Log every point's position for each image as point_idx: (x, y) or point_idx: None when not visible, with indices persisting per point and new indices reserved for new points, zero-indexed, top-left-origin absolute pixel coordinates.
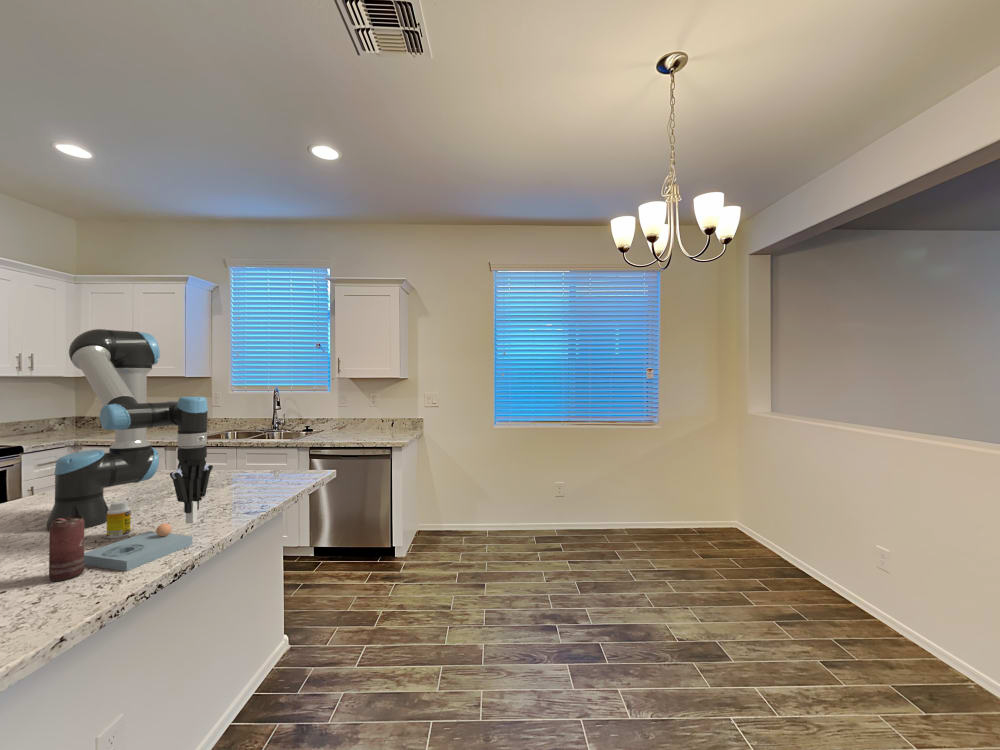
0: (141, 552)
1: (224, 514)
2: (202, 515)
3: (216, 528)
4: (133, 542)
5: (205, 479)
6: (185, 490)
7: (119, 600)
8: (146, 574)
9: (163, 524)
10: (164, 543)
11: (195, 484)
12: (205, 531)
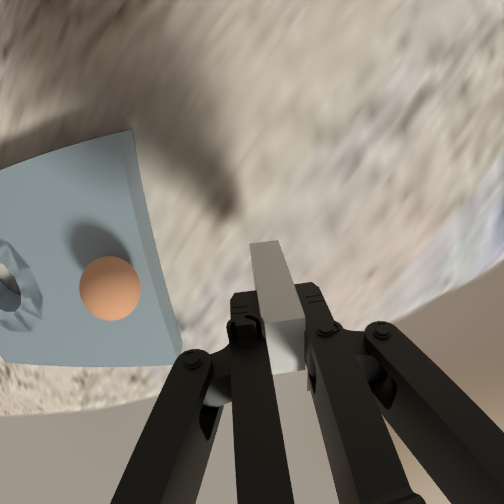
0: (31, 347)
1: (489, 131)
2: (460, 46)
3: (352, 262)
4: (27, 237)
5: (432, 477)
6: (202, 475)
7: (12, 415)
8: (43, 389)
9: (95, 312)
10: (91, 344)
11: (337, 475)
12: (310, 255)
